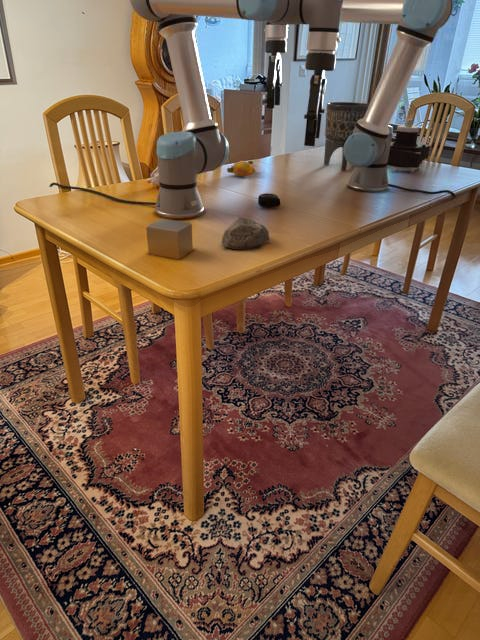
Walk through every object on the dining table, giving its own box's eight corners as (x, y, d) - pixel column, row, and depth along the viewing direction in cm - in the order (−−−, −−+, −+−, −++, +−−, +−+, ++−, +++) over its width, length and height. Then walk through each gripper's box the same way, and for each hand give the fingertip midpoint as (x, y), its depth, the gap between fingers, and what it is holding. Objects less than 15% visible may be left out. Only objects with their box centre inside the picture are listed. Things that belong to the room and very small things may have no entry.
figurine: (184, 183, 177) (182, 149, 170) (157, 191, 166) (154, 155, 160) (168, 180, 181) (166, 147, 174) (141, 188, 170) (138, 152, 163)
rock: (255, 233, 128) (256, 211, 124) (276, 242, 122) (278, 219, 119) (217, 244, 120) (217, 220, 117) (239, 254, 115) (239, 230, 111)
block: (163, 244, 120) (161, 218, 117) (192, 249, 117) (191, 222, 114) (148, 253, 114) (146, 226, 111) (179, 259, 112) (177, 231, 108)
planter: (313, 167, 208) (319, 103, 195) (331, 160, 222) (338, 101, 209) (353, 173, 199) (362, 107, 185) (369, 166, 213) (379, 104, 199)
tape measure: (259, 210, 148) (260, 198, 147) (256, 204, 154) (256, 193, 152) (280, 209, 149) (281, 198, 147) (275, 203, 155) (276, 192, 153)
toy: (224, 169, 185) (230, 160, 198) (230, 184, 188) (235, 175, 200) (250, 160, 182) (254, 152, 194) (255, 175, 185) (259, 167, 197)
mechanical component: (376, 119, 196) (405, 114, 216) (368, 169, 207) (396, 160, 227) (425, 124, 184) (451, 118, 204) (414, 176, 195) (439, 166, 215)
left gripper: (333, 52, 103) (321, 150, 114) (339, 53, 124) (328, 136, 135) (300, 51, 105) (292, 148, 115) (311, 52, 125) (303, 134, 136)
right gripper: (271, 41, 170) (269, 103, 180) (258, 38, 149) (257, 109, 159) (291, 41, 168) (287, 104, 179) (281, 38, 147) (278, 110, 158)
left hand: (311, 141), depth 125 cm, fingers open, 13 cm apart
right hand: (273, 106), depth 169 cm, fingers open, 13 cm apart
